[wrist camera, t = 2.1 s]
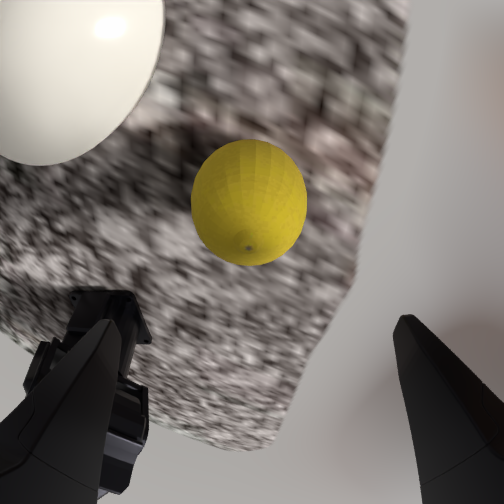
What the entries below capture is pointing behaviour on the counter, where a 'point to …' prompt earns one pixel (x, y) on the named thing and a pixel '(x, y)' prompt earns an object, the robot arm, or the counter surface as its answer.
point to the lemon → (248, 202)
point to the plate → (72, 72)
